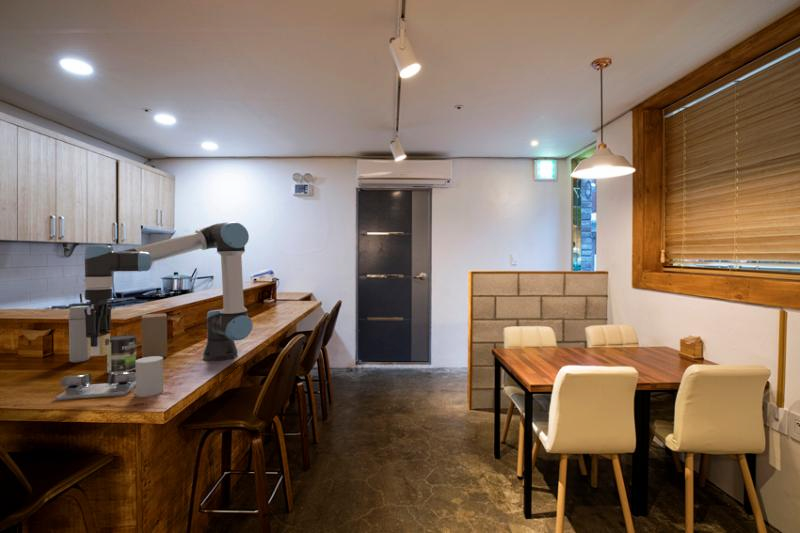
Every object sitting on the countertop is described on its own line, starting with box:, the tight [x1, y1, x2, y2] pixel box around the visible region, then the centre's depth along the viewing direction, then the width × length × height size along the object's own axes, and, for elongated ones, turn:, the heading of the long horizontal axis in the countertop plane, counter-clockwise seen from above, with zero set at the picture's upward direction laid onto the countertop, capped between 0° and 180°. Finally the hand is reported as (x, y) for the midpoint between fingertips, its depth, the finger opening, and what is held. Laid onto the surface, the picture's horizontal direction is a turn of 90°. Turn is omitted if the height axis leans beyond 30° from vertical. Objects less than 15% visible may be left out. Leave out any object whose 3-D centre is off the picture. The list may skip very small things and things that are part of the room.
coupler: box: [88, 333, 111, 357], centre depth 130 cm, size 5×4×7 cm
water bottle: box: [67, 305, 91, 364], centre depth 167 cm, size 9×8×25 cm
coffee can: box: [106, 334, 138, 374], centre depth 155 cm, size 10×10×14 cm
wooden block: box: [141, 312, 168, 358], centre depth 176 cm, size 10×10×20 cm
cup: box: [135, 356, 164, 398], centre depth 130 cm, size 8×8×12 cm
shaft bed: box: [55, 371, 136, 401], centre depth 130 cm, size 21×11×7 cm, turn 105°
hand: (98, 353), depth 130 cm, fingers closed on coupler, 4 cm apart
